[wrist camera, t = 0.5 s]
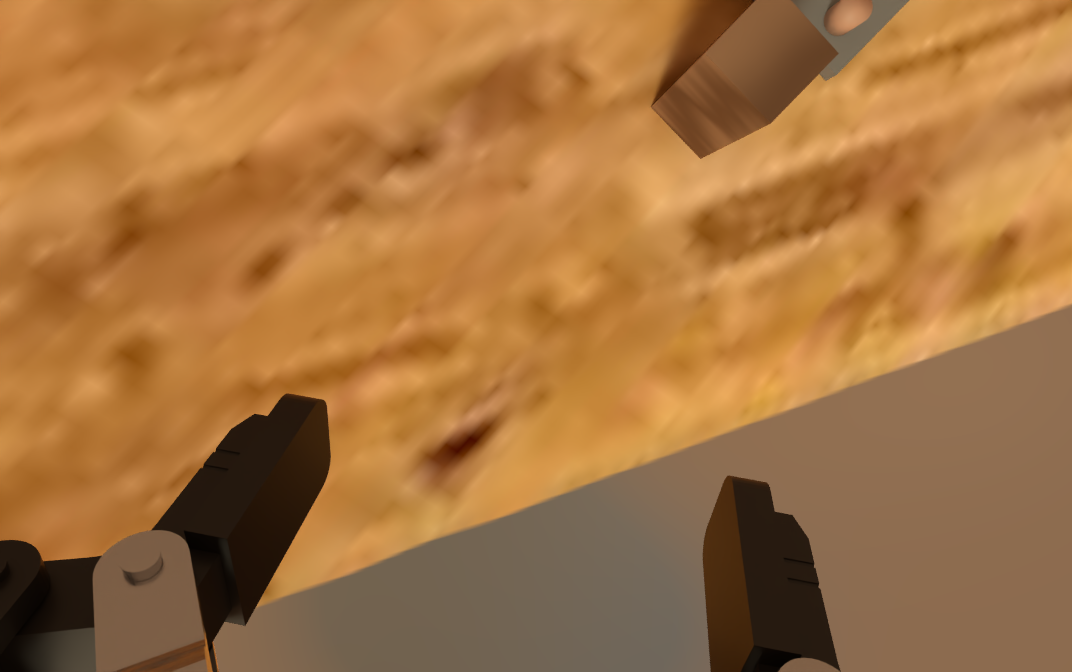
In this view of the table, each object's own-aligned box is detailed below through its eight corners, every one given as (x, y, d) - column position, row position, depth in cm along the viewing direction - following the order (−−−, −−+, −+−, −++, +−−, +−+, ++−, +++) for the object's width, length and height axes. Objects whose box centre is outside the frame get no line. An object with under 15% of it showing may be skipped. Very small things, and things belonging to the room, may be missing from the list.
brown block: (651, 107, 38) (705, 52, 28) (701, 54, 38) (773, -19, 28) (700, 158, 39) (770, 123, 29) (750, 106, 39) (838, 53, 29)
